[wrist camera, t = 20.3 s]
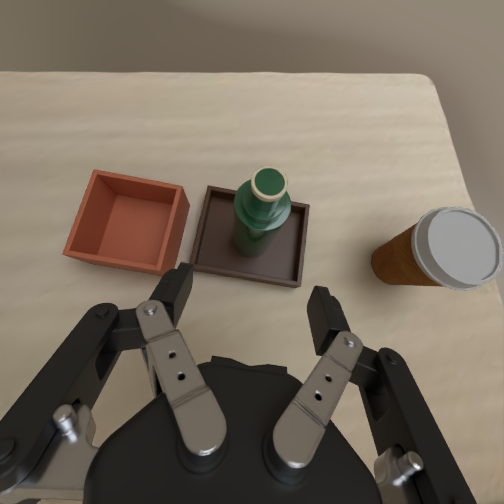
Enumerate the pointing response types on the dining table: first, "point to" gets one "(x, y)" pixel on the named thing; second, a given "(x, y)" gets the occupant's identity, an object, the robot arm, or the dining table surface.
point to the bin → (129, 223)
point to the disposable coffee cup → (442, 252)
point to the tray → (236, 265)
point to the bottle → (260, 211)
